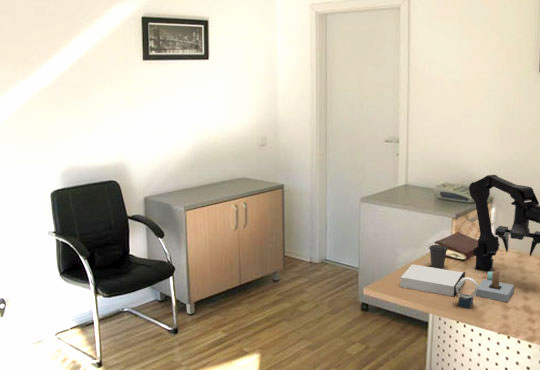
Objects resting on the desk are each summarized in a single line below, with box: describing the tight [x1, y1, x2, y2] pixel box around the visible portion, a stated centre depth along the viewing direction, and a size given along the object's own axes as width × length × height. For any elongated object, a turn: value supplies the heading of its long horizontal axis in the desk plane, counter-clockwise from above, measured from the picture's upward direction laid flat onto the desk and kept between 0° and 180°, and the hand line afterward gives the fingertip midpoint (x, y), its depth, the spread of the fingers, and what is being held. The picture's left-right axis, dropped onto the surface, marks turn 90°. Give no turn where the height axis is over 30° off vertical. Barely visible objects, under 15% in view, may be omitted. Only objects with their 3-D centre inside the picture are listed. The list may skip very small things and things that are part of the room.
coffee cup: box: [428, 244, 448, 269], centre depth 274 cm, size 8×8×10 cm
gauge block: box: [475, 278, 515, 303], centre depth 245 cm, size 12×12×3 cm
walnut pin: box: [491, 271, 501, 290], centre depth 244 cm, size 3×3×9 cm
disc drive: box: [399, 264, 466, 298], centre depth 255 cm, size 18×22×5 cm
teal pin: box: [486, 270, 494, 281], centre depth 255 cm, size 3×3×5 cm
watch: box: [455, 276, 479, 310], centre depth 234 cm, size 6×8×11 cm
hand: (518, 253), depth 254 cm, fingers open, 9 cm apart
